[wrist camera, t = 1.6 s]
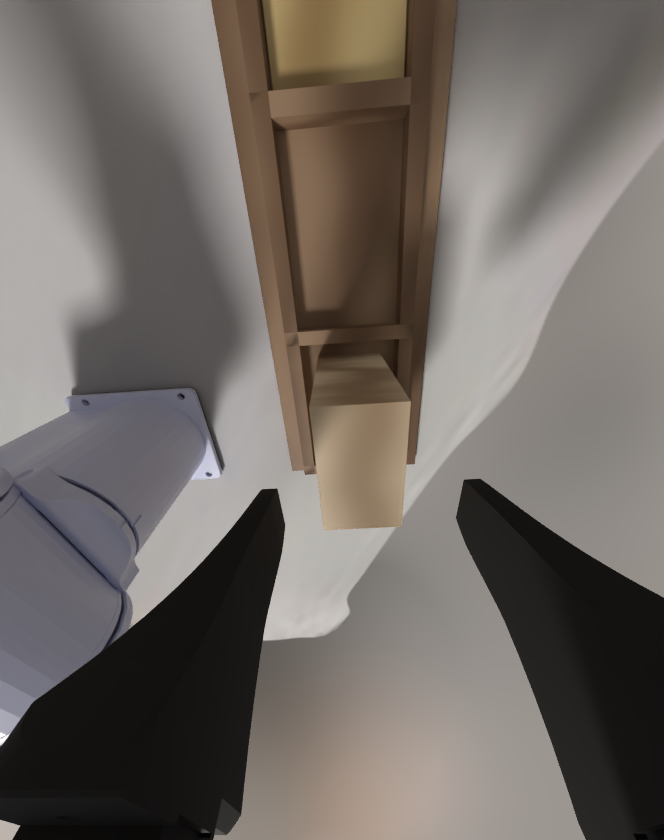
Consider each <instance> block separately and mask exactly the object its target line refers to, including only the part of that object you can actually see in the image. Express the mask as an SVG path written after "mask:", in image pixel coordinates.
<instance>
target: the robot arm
mask: <svg viewBox="0 0 664 840" xmlns="http://www.w3.org/2000/svg"><path fill="white" fill-rule="evenodd" d="M180 393H182V394H183V395H184V396H185V398H183V397H181V395H180ZM86 400H87V401H88V402H89V403H88V402H87V401H86ZM65 403H66V405H67V407H68V408H69V410H70V412H68V413H66V414H64V415H62V416H60V417H58V418H56V419H54V420H52V421H50V422H48V423H46V424H44V425H42V426H40V427H38V428H36V429H34V430H32V431H30V432H28V433H26V434H24V435H22V436H20V437H18V438H16V439H15V440H13V441H11V442H9V443H7V444H5V445H3V446H1V447H0V820H3V821H7V822H10V823H14V824H17V825H20V827H19V829H18V831H17V833H16V834H15V836H14V838H13V840H213V838H214V835H227V834H228V833H229V832H230V831H231V829H232V828H233V826H234V825H235V824H236V822H237V821H238V819H239V817H240V816H241V810H242V801H243V791H244V782H245V772H246V763H247V754H248V745H249V737H250V729H251V721H252V711H253V704H254V697H255V689H256V682H257V675H258V668H259V660H260V654H261V647H262V641H263V634H264V628H265V623H266V618H267V613H268V609H269V605H270V600H271V596H272V592H273V588H274V584H275V579H276V575H277V571H278V567H279V562H280V558H281V554H282V548H283V540H284V531H285V522H284V518H283V513H282V508H281V504H280V499H279V494H278V490H277V489H262V490H261V491H260V492H259V493H258V495H257V496H256V497H255V499H254V500H253V501H252V503H251V504H250V505H249V507H248V508H247V509H246V511H245V512H244V513H243V515H242V516H241V517H240V518H239V520H238V521H237V522H236V523H235V525H234V526H233V527H232V528H231V530H230V531H229V532H228V533H227V534H226V536H225V537H224V538H223V539H222V540H221V541H220V543H219V544H218V545H217V546H216V547H215V548H214V549H213V551H212V552H211V553H210V554H209V555H208V556H207V557H206V558H205V559H204V561H203V562H202V563H201V564H200V565H199V566H198V567H197V568H196V569H195V570H194V571H193V572H192V573H191V574H190V575H189V576H188V577H187V578H186V579H185V580H184V581H183V582H182V583H181V584H180V585H179V586H178V587H177V588H176V589H175V590H173V591H172V592H171V593H170V594H169V595H168V596H167V597H166V598H165V599H164V600H163V601H162V602H160V603H159V604H158V605H157V606H156V607H155V608H154V609H153V610H151V611H150V612H149V613H148V614H147V615H146V616H145V617H144V618H142V619H141V620H140V621H139V622H138V623H136V624H135V625H134V626H133V627H131V628H130V629H129V627H130V624H131V619H132V614H133V605H132V601H131V598H130V596H129V595H128V594H127V592H126V590H127V588H128V587H129V585H130V584H131V582H132V581H133V579H134V578H135V576H136V575H137V573H138V572H139V569H138V567H137V566H136V564H135V561H134V558H135V556H136V555H137V554H138V552H139V551H140V549H141V548H142V547H143V545H144V544H145V542H146V541H147V539H148V538H149V537H150V535H151V534H152V532H153V531H154V530H155V528H156V527H157V525H158V524H159V523H160V521H161V520H162V518H163V517H164V516H165V514H166V513H167V511H168V510H169V508H170V507H171V506H172V504H173V503H174V501H175V500H176V499H177V497H178V496H179V494H180V493H181V492H182V490H183V489H184V487H185V486H186V484H187V483H188V482H189V480H196V479H215V478H219V477H220V476H221V474H222V469H221V466H220V463H219V460H218V457H217V454H216V451H215V448H214V445H213V442H212V439H211V436H210V432H209V429H208V426H207V423H206V420H205V417H204V414H203V411H202V408H201V405H200V402H199V399H198V396H197V393H196V391H195V390H193V389H191V388H178V389H163V390H148V391H132V392H117V393H102V394H87V395H72V396H69V397H67V398H66V399H65ZM208 472H210V473H211V474H210V473H208ZM456 519H457V522H458V525H459V528H460V530H461V533H462V536H463V538H464V541H465V544H466V546H467V548H468V550H469V552H470V554H471V555H472V558H473V560H474V562H475V564H476V566H477V568H478V569H479V571H480V573H481V575H482V577H483V579H484V581H485V583H486V585H487V587H488V589H489V591H490V593H491V595H492V596H493V598H494V600H495V602H496V604H497V606H498V608H499V610H500V612H501V615H502V617H503V619H504V620H505V623H506V626H507V628H508V630H509V633H510V635H511V638H512V640H513V642H514V645H515V647H516V650H517V652H518V654H519V657H520V659H521V662H522V665H523V667H524V670H525V672H526V675H527V678H528V680H529V682H530V685H531V688H532V690H533V693H534V695H535V698H536V701H537V704H538V706H539V709H540V712H541V714H542V717H543V720H544V723H545V726H546V728H547V731H548V734H549V736H550V739H551V742H552V745H553V748H554V751H555V754H556V756H557V760H558V763H559V766H560V768H561V771H562V774H563V777H564V780H565V783H566V786H567V789H568V792H569V795H570V798H571V800H572V804H573V807H574V811H575V814H576V817H577V820H578V823H579V825H580V827H581V830H582V832H583V834H584V836H585V839H586V840H664V598H663V597H661V596H660V595H658V594H655V593H654V592H652V591H650V590H648V589H647V588H645V587H643V586H641V585H639V584H637V583H635V582H634V581H632V580H630V579H628V578H627V577H625V576H623V575H621V574H620V573H618V572H616V571H614V570H613V569H611V568H609V567H608V566H606V565H604V564H602V563H601V562H599V561H598V560H596V559H594V558H593V557H591V556H589V555H588V554H586V553H585V552H583V551H581V550H580V549H578V548H577V547H575V546H573V545H572V544H570V543H569V542H568V541H566V540H564V539H563V538H562V537H560V536H559V535H557V534H556V533H554V532H553V531H551V530H550V529H548V528H547V527H545V526H544V525H542V524H541V523H540V522H538V521H537V520H535V519H534V518H533V517H531V516H530V515H528V514H527V513H525V512H524V511H523V510H521V509H520V508H519V507H518V506H516V505H515V504H514V503H512V502H511V501H509V500H508V499H507V498H506V497H504V496H503V495H502V494H500V493H499V492H498V491H496V490H495V489H494V488H492V487H491V486H490V485H488V484H487V483H485V482H484V481H482V480H481V479H471V480H470V479H469V480H464V482H463V487H462V492H461V497H460V501H459V507H458V512H457V516H456Z"/></svg>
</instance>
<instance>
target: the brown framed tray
mask: <svg viewBox="0 0 664 840" xmlns="http://www.w3.org/2000/svg"><path fill="white" fill-rule="evenodd" d="M211 1H212V7H213V13H214V19H215V25H216V30H217V36H218V42H219V48H220V53H221V59H222V65H223V71H224V77H225V82H226V88H227V94H228V100H229V106H230V111H231V117H232V123H233V129H234V135H235V140H236V146H237V152H238V158H239V164H240V169H241V175H242V181H243V187H244V193H245V198H246V204H247V210H248V216H249V222H250V227H251V233H252V239H253V245H254V251H255V256H256V262H257V268H258V274H259V280H260V285H261V291H262V297H263V303H264V309H265V314H266V320H267V326H268V332H269V338H270V343H271V349H272V355H273V361H274V367H275V372H276V378H277V384H278V390H279V395H280V401H281V407H282V413H283V419H284V424H285V430H286V436H287V442H288V448H289V453H290V459H291V465H292V471H297V470H304V472H305V475H306V474H317V469H316V461H315V453H314V444H313V436H312V428H311V419H310V411H309V406H310V400H311V394H312V389H313V383H314V377H315V372H316V366H317V361H318V356H329V355H344V354H358V353H373V352H379V353H380V354H381V356H382V357H383V359H384V360H385V362H386V364H387V365H388V367H389V368H390V370H391V371H392V373H393V374H394V376H395V377H396V379H397V381H398V382H399V384H400V385H401V387H402V388H403V390H404V391H405V393H406V394H407V396H408V398H409V399H410V401H411V407H410V420H409V434H408V447H407V461H406V464H415V454H416V444H417V433H418V422H419V411H420V400H421V389H422V379H423V368H424V357H425V346H426V335H427V324H428V314H429V303H430V292H431V281H432V270H433V259H434V248H435V238H436V227H437V216H438V205H439V194H440V183H441V173H442V162H443V151H444V140H445V129H446V118H447V108H448V97H449V86H450V75H451V64H452V53H453V43H454V32H455V21H456V10H457V0H211Z"/></svg>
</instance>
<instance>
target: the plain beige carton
mask: <svg viewBox="0 0 664 840" xmlns="http://www.w3.org/2000/svg"><path fill="white" fill-rule="evenodd" d="M410 407H411V401H410V399H409V398H408V396H407V394H406V393H405V391H404V390H403V388H402V387H401V385H400V384H399V382H398V381H397V379H396V377H395V376H394V374H393V373H392V371H391V370H390V368H389V367H388V365H387V364H386V362H385V360H384V359H383V357H382V356H381V354H380V353H379V352H373V353H358V354H344V355H329V356H318V361H317V366H316V372H315V377H314V383H313V389H312V394H311V400H310V406H309V411H310V419H311V428H312V436H313V444H314V453H315V461H316V469H317V478H318V486H319V494H320V503H321V511H322V519H323V528H324V530H337V529H358V528H379V527H399V526H402V515H403V501H404V488H405V474H406V461H407V447H408V434H409V420H410Z"/></svg>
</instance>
